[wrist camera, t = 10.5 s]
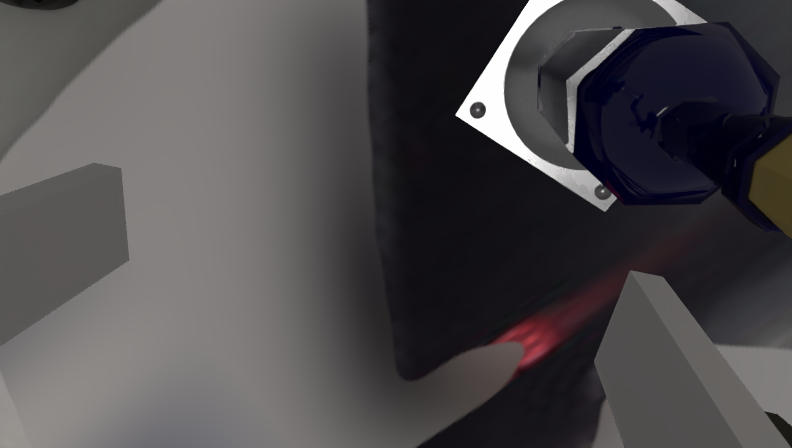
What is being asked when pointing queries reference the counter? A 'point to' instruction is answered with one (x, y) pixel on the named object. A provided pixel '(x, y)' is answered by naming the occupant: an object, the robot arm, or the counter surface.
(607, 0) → the flange plate
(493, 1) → the counter surface
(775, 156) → the bottle
